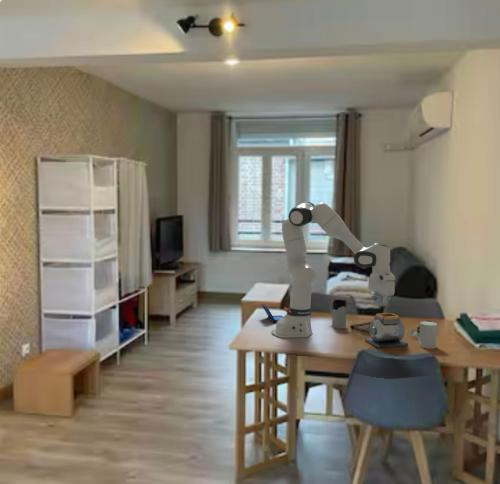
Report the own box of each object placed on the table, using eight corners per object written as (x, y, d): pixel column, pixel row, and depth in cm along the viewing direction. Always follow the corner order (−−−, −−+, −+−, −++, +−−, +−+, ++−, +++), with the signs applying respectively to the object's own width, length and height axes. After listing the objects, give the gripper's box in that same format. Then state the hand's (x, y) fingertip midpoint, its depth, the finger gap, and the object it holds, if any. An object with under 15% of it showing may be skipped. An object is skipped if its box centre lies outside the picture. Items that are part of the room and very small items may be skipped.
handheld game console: (289, 323, 325) (289, 308, 324) (267, 324, 322) (267, 308, 321) (281, 317, 340) (282, 302, 339) (260, 318, 337) (261, 303, 336)
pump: (374, 306, 279) (374, 296, 278) (369, 304, 283) (370, 294, 282) (388, 304, 281) (388, 295, 280) (383, 303, 285) (383, 293, 285)
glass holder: (336, 328, 313) (337, 303, 312) (323, 323, 326) (324, 298, 324) (349, 327, 317) (350, 302, 315) (335, 322, 329) (336, 297, 328)
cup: (438, 348, 277) (439, 325, 276) (422, 348, 277) (424, 325, 275) (432, 344, 285) (433, 321, 284) (416, 344, 285) (417, 321, 283)
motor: (378, 348, 276) (380, 319, 274) (364, 340, 289) (366, 312, 287) (408, 346, 281) (409, 317, 279) (393, 338, 294) (394, 311, 293)
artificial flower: (437, 335, 310) (442, 319, 306) (418, 347, 294) (423, 331, 290) (422, 328, 315) (427, 312, 311) (403, 339, 299) (408, 323, 295)
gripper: (365, 272, 290) (365, 297, 291) (386, 278, 270) (385, 305, 272) (376, 271, 291) (375, 297, 293) (397, 277, 272) (396, 304, 273)
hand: (380, 301), depth 282 cm, fingers closed on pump, 4 cm apart
